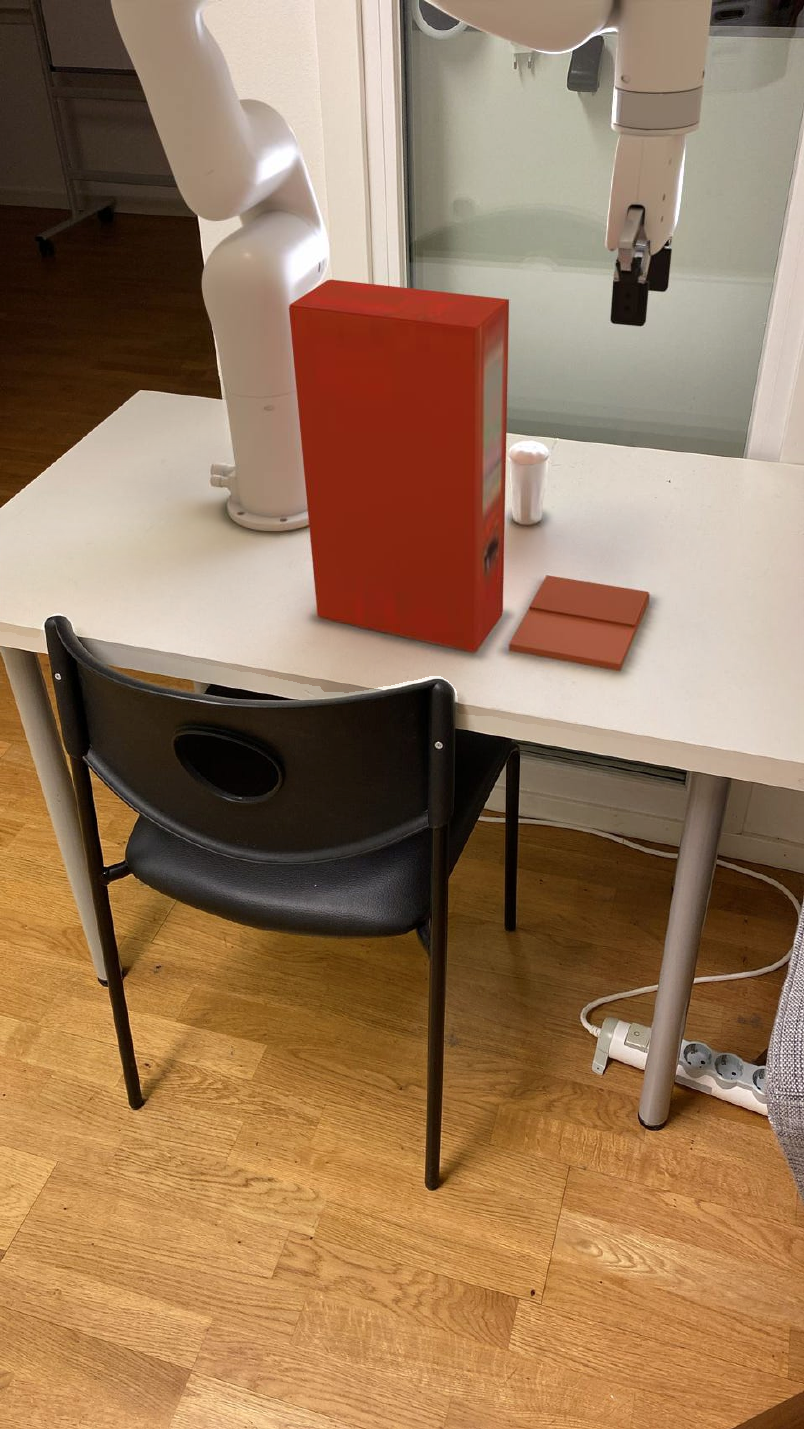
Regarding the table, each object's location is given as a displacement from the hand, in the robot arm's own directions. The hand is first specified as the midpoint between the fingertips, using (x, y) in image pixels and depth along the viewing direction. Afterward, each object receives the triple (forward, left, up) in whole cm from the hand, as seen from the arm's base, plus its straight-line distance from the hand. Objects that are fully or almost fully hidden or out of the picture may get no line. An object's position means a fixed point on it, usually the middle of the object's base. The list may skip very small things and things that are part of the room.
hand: (639, 306), depth 112 cm
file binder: (-17, -19, -27) cm, 37 cm away
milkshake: (-11, +4, -27) cm, 30 cm away
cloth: (0, -15, -27) cm, 31 cm away
